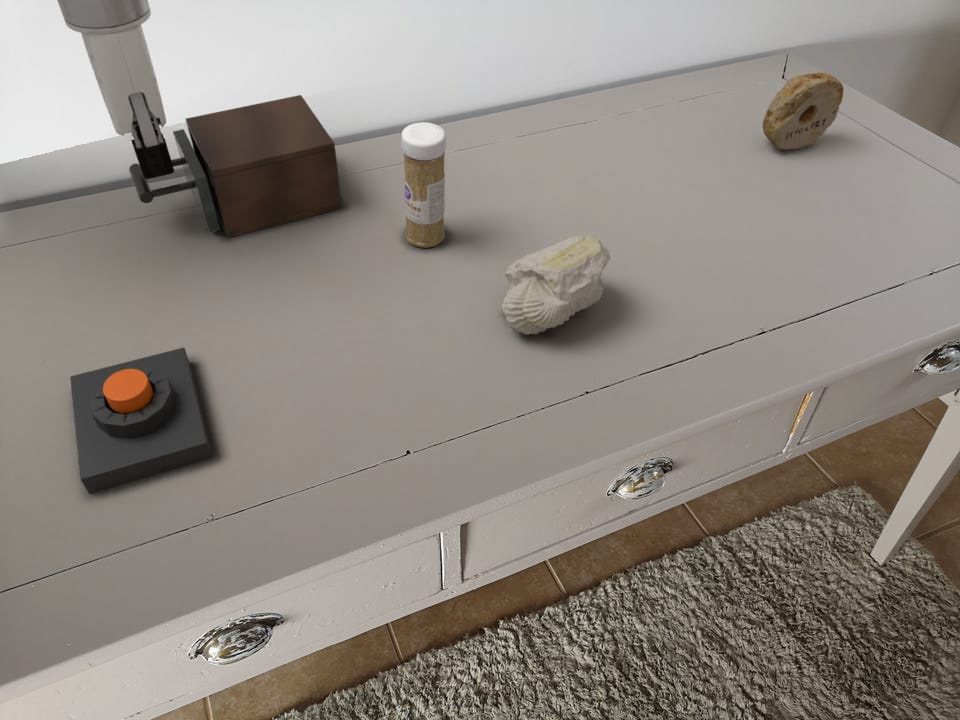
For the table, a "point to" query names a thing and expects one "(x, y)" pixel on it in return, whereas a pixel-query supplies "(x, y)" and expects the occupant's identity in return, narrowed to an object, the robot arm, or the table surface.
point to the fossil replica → (554, 284)
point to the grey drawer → (194, 183)
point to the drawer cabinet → (266, 164)
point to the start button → (128, 390)
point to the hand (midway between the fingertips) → (158, 172)
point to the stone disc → (802, 110)
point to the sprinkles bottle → (424, 183)
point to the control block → (138, 424)
